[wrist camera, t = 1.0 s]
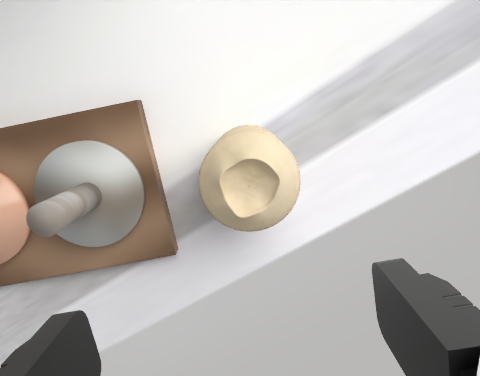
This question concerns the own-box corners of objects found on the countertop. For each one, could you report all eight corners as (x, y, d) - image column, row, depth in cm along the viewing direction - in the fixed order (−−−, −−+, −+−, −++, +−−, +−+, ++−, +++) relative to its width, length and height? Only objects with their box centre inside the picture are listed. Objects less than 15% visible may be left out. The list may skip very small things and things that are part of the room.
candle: (265, 206, 29) (275, 257, 19) (201, 178, 28) (178, 215, 18) (296, 142, 28) (323, 161, 18) (230, 112, 27) (221, 114, 17)
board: (-107, 151, 28) (-243, 168, 20) (141, 100, 27) (98, 97, 19) (-52, 290, 31) (-153, 352, 23) (178, 248, 29) (153, 299, 22)
